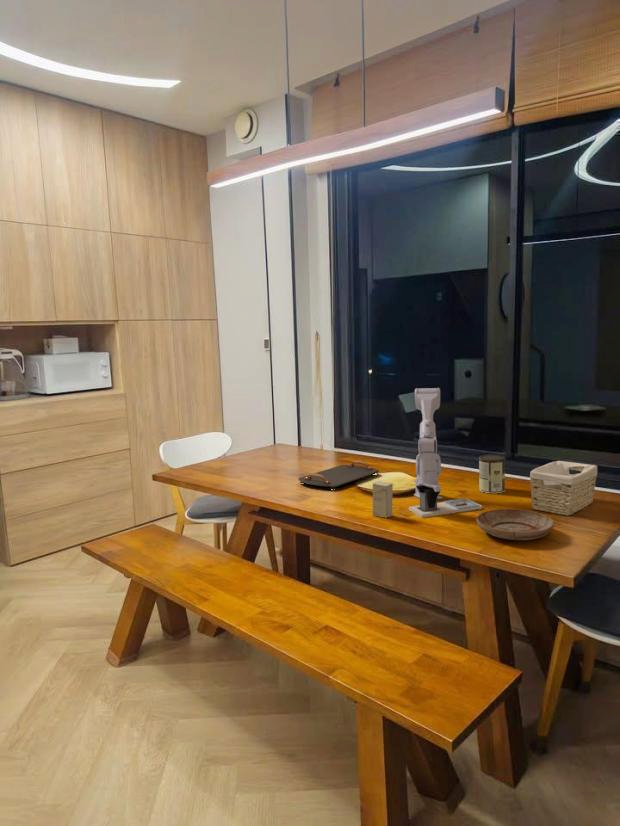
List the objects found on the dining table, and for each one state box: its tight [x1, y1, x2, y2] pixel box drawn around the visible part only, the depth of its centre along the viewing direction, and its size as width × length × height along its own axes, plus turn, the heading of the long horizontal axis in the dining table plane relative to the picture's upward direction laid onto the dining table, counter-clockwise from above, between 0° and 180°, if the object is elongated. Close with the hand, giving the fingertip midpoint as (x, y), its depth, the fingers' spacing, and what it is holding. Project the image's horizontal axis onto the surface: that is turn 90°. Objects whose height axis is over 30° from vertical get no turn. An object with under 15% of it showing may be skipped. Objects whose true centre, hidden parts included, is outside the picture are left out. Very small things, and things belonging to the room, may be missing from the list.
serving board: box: [298, 460, 380, 491], centre depth 259 cm, size 39×23×6 cm, turn 138°
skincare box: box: [372, 480, 394, 519], centre depth 205 cm, size 6×4×12 cm
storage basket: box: [529, 460, 598, 516], centre depth 207 cm, size 24×16×15 cm
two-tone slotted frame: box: [408, 497, 483, 519], centre depth 209 cm, size 10×25×2 cm, turn 107°
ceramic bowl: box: [475, 508, 555, 541], centre depth 182 cm, size 23×24×5 cm
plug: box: [419, 492, 438, 512], centre depth 207 cm, size 4×5×7 cm
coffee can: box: [478, 454, 506, 495], centre depth 230 cm, size 10×10×14 cm
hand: (428, 505), depth 207 cm, fingers closed on plug, 4 cm apart
